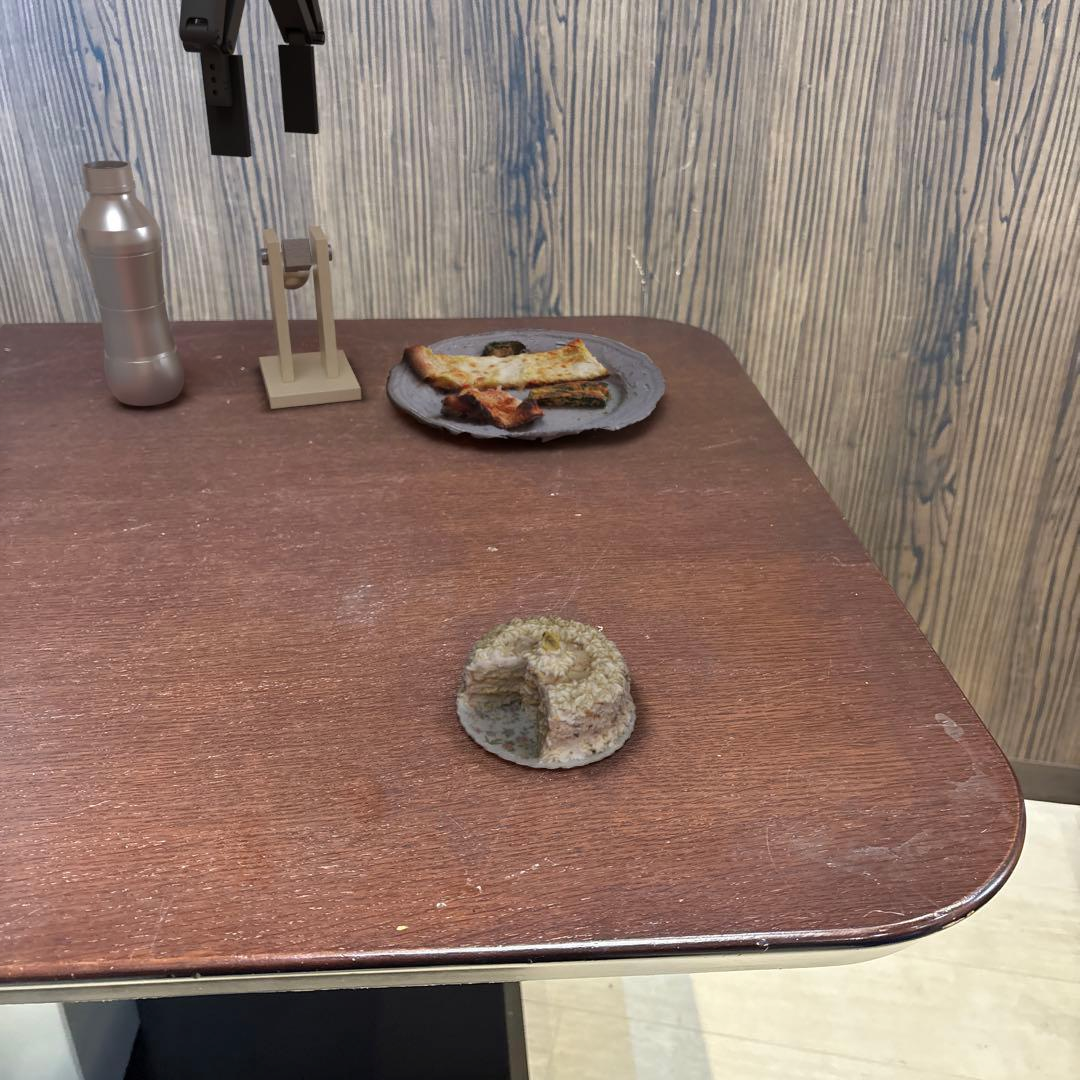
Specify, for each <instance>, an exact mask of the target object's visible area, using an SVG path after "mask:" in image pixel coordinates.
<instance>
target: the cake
mask: <svg viewBox="0 0 1080 1080" xmlns="http://www.w3.org/2000/svg"><path fill="white" fill-rule="evenodd" d="M629 675H630V669H629V667H628V664H627V661H626V660H625V656H624V655H622V653H621V652H620V650H619V649H618V647H617V645H616V644H615V643H614V642H613V641H612V640H608V639H607V637H606V636H605V635H604V633H603V632H602V631H600V630H599V629H598V628H596V627H592V626H590V624H585V623H583V622H580V621H575V620H573V619H572V618H571V619H570V620H569V619H563V617H562V618H561V617H560V616H559V617H557V618H554V616H553V615H552V613H549V615H548V616H543V615H540V616H530V615H528V616H527V617H526V618H525V619H524V618H520V617H517V616H515V617H514V618H513V619H510V620H509V621H506V623H505V624H503V623H498V625H497V626H496V625H495V626H493V627H492V629H491V630H488V632H487V633H482V634H481V638H480V640H477V641H474V642H473V644H472V648H470V653H468V654H467V657H466V659H465V666H464V668H463V669H462V673H461V675H460V676H461V681H460V685H459V687H458V689H457V690H456V698H455V699H454V703H455V706H456V710H455V713H456V715H457V716H458V718H459V720H458V721H459V723H460V725H461V726H462V727H463V729H464V731H465V733H466V734H467V735H468V736H470V737H471V738H472V739H473V741H474V743H477V745H480V746H481V747H483V748H484V749H485V751H488V753H489V752H490V753H493V754H495V755H498V757H499V758H501V759H504V760H507V761H511V762H513V763H516V764H518V765H522V766H528V767H530V768H536V769H540V768H546V769H548V770H549V769H550V770H552V769H554V770H556V769H559V768H562V769H570V768H574V767H580V766H585V765H588V764H590V763H594V762H598V761H601V760H603V759H604V758H606V757H609V756H611V755H614V753H615V751H616V750H619V749H621V748H623V747H624V744H625V743H626V741H627V740H628V739H630V738H631V735H632V733H633V731H634V730H635V729H634V728H635V725H636V720H637V714H636V709H637V706H636V705H635V703H634V698H633V697H632V695H631V693H630V691H631V681H632V679H631V677H629Z"/></svg>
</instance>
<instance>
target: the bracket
mask: <svg viewBox="0 0 1080 1080" xmlns="http://www.w3.org/2000/svg"><path fill="white" fill-rule="evenodd" d="M308 234H309V244H310V251H311V258H312V266H311V269H312V277H313V289H314V300H315V301H314V302H315V310H316V311H315V312H316V321H317V332H318V333H317V334H318V341H319V342H318V343H319V351H312V352H311V351H310V352H302V353H292V346H291V337H290V335H291V334H290V327H289V317H288V308H287V299H286V289H285V288H284V280H283V270H282V261H281V252H282V251H281V243H280V240H279V238H278V236H277V234H276V231H275V228H264V229H262V240H263V248H259V255H260V256H259V257H260V262H261V266H266V275H267V283H268V292H269V300H270V301H269V302H270V309H271V317H272V318H271V319H272V326H273V327H272V328H273V335H274V343H275V350H276V351H275V352H276V353H275V354H276V355H268V356H259V357H258V362H259V369H260V373H261V376H262V380H263V384H264V387H265V392H266V395H267V399H268V402H269V406H270V409H271V410H275V409H276V410H277V409H286V408H294V407H303V406H312V405H313V406H315V405H322V404H332V403H341V402H350V401H351V402H352V401H361V400H362V387H361V385H360V383H359V381H358V379H357V377H356V375H355V372H354V371H353V369H352V366H351V365H350V362H349V360H348V358H347V356H346V354H345V351H344V350H343V349H338V348H337V339H336V327H335V325H336V324H335V314H334V313H335V312H334V303H333V289H332V288H333V287H332V278H331V267H330V266H331V265H330V262H332V261H333V250H332V246H331V244H329V242H328V241H329V240H328V237H327V236H326V234H325V233H324V231H323V229H322V227H321V226H320V225H316V226H314V225H313V226H308Z"/></svg>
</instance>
